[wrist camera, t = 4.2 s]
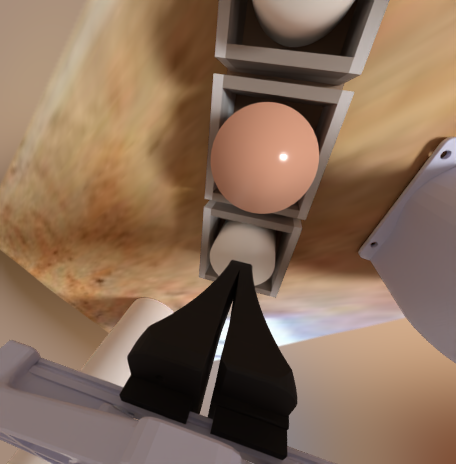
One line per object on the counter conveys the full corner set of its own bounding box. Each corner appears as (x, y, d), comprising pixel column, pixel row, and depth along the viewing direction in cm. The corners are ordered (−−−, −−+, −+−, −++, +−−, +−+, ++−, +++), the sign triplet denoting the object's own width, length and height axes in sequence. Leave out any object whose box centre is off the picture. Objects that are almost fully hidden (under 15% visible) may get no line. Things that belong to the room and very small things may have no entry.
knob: (268, 260, 18) (266, 292, 15) (220, 248, 19) (207, 277, 15) (282, 215, 16) (283, 242, 12) (226, 203, 16) (212, 226, 13)
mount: (278, 264, 20) (277, 300, 16) (211, 248, 20) (196, 278, 17) (403, -98, 9) (499, -264, 5) (249, -101, 9) (229, -245, 6)
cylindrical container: (168, 298, 26) (-295, 1055, 5) (184, 333, 29) (-58, 882, 8) (124, 296, 28) (-337, 832, 7) (143, 329, 31) (-133, 762, 10)
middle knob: (293, 194, 13) (298, 222, 10) (225, 181, 13) (206, 203, 10) (319, 113, 11) (338, 111, 7) (235, 100, 11) (215, 93, 8)
